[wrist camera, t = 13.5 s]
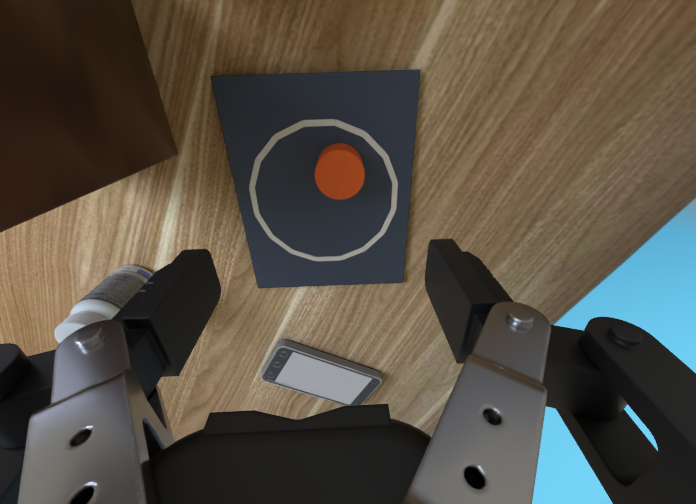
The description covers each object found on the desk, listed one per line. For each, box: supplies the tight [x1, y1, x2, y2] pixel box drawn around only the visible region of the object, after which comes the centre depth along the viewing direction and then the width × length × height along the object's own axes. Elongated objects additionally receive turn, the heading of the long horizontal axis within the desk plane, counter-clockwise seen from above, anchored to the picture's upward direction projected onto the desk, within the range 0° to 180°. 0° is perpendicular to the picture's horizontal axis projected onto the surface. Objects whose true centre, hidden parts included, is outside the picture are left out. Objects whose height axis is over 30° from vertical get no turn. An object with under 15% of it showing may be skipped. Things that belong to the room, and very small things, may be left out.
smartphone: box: [261, 340, 382, 406], centre depth 40 cm, size 7×1×15 cm
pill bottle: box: [55, 265, 153, 344], centre depth 28 cm, size 5×5×8 cm
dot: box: [315, 143, 365, 200], centre depth 25 cm, size 4×4×3 cm
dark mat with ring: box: [211, 70, 420, 288], centre depth 27 cm, size 20×16×1 cm
